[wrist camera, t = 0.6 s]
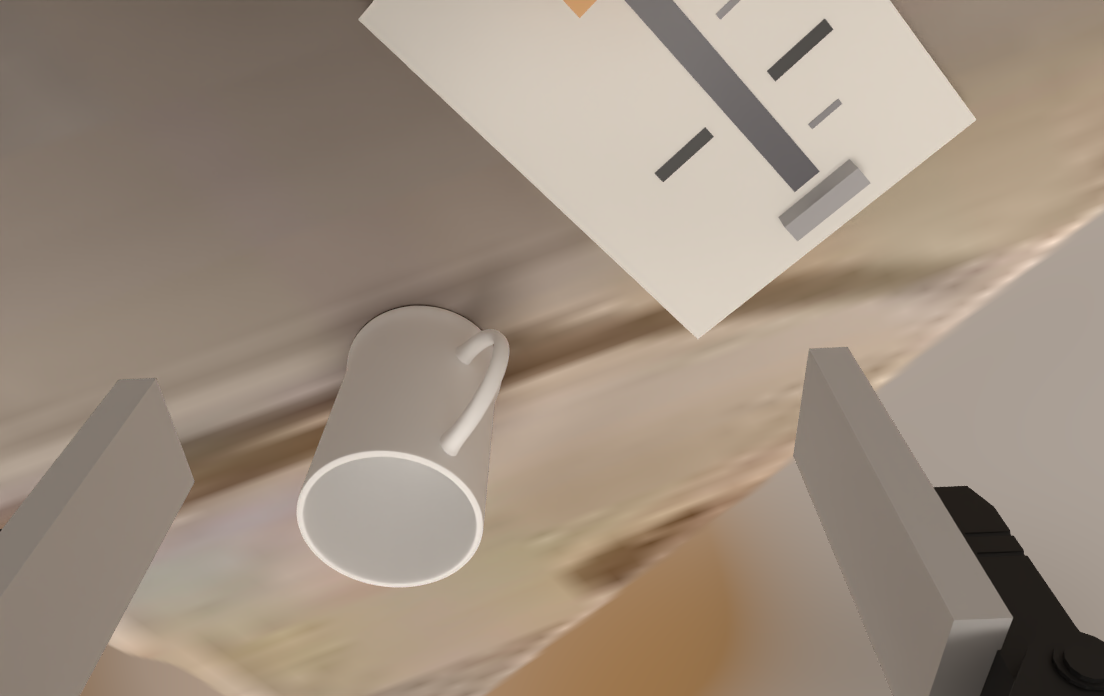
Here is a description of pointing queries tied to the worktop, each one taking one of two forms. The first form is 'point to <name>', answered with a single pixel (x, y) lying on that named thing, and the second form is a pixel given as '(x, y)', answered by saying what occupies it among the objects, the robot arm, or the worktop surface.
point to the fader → (579, 6)
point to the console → (689, 122)
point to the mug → (406, 450)
